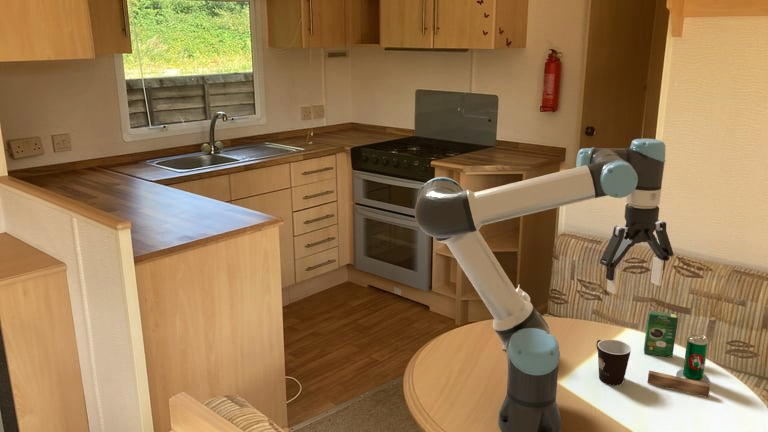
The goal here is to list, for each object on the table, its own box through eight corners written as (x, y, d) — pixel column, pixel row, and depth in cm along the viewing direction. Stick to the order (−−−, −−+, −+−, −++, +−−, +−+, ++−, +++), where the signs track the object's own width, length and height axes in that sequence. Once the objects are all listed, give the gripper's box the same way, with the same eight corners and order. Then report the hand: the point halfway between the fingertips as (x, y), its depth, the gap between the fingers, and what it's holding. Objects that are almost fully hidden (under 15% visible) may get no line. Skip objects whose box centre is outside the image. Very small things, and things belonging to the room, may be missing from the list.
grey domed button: (674, 382, 175) (675, 379, 174) (677, 369, 181) (678, 366, 181) (707, 389, 171) (707, 387, 171) (709, 376, 177) (709, 373, 177)
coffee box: (672, 353, 190) (677, 313, 186) (673, 358, 187) (678, 317, 184) (643, 349, 193) (648, 309, 189) (643, 354, 190) (648, 313, 186)
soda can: (689, 370, 179) (694, 331, 176) (706, 378, 175) (712, 338, 172) (678, 375, 176) (683, 336, 173) (696, 383, 172) (701, 343, 169)
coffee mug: (630, 389, 172) (633, 355, 169) (596, 386, 173) (599, 352, 171) (623, 367, 183) (626, 335, 180) (592, 364, 184) (594, 333, 181)
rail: (647, 383, 174) (648, 373, 174) (648, 380, 176) (649, 370, 175) (708, 397, 167) (709, 387, 166) (708, 394, 169) (710, 384, 168)
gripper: (610, 214, 144) (602, 301, 150) (695, 202, 152) (685, 285, 158) (588, 206, 151) (582, 289, 157) (671, 195, 159) (662, 275, 165)
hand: (633, 287), depth 157 cm, fingers open, 13 cm apart
